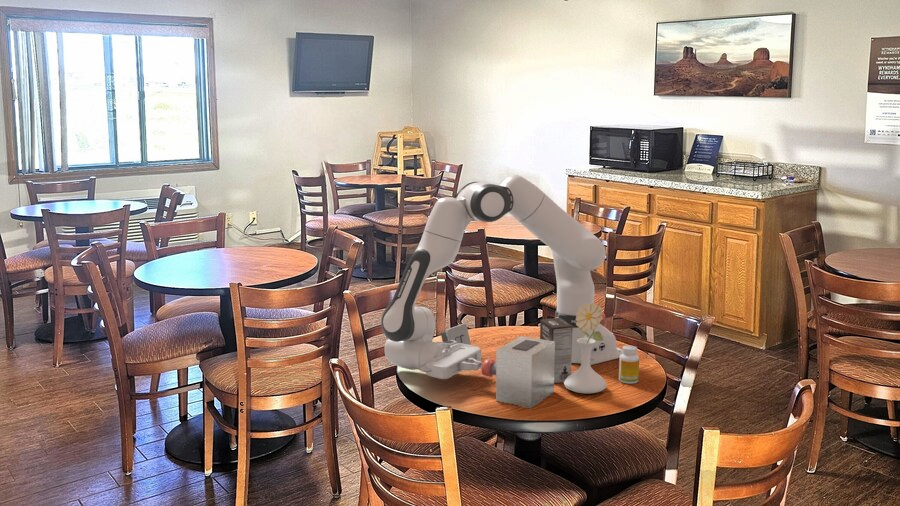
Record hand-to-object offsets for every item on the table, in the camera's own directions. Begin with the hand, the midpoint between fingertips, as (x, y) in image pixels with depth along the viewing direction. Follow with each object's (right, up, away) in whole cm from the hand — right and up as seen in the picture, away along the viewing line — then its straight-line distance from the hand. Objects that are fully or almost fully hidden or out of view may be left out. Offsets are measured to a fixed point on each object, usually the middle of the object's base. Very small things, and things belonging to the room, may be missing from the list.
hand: (479, 366), depth 226 cm
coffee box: (+22, -5, +9) cm, 24 cm away
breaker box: (+12, -7, -6) cm, 15 cm away
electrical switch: (-6, -1, +29) cm, 30 cm away
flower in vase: (+29, -7, -2) cm, 29 cm away
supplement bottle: (+42, -5, +6) cm, 42 cm away
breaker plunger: (+6, -3, -3) cm, 7 cm away
